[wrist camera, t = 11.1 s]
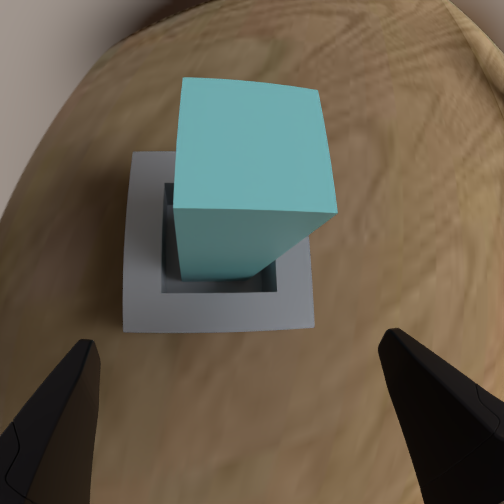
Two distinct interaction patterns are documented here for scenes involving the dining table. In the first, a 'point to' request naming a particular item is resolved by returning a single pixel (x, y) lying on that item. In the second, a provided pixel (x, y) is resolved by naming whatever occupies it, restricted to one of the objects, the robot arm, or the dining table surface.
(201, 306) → the socket
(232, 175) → the plug
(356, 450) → the dining table surface
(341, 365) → the dining table surface
